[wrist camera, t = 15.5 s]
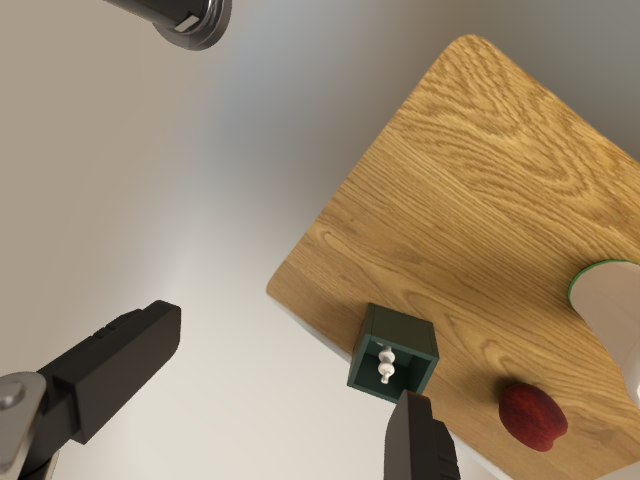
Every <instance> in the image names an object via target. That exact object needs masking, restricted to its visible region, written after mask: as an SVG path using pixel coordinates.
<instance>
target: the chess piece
mask: <svg viewBox="0 0 640 480" xmlns="http://www.w3.org/2000/svg"><path fill="white" fill-rule="evenodd" d="M376 343H378V342H376ZM378 344H379V345H381V346H383V351H381V352H380V353H379V359H380V361H381V363H380V365H379V367H378V370H379V372H380V373H381V374H382V375H384V376H383V377H382V379H381V382H383V383H386V384H387V383H388V377H389V376H391V375H392V374H393V373H394V367H393V365H392V362H393V361H394V359H395V356H394V354H393V353H392V352H391V348H392V347H389V346H386V345H383V344H380V343H378Z"/></svg>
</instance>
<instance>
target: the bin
mask: <svg viewBox="0 0 640 480" xmlns="http://www.w3.org/2000/svg"><path fill="white" fill-rule="evenodd" d="M376 342H378V343H380V344H383V345H386V346H389V347H392V348H391V352H392V353H393V354H394V356H395V359H394V361H393V362H392V365H393V367H394V373H393V374H392V375H391V376H389V377H388V383H387V384H386V383H383V382H381V379H382V377H383V376H384V375H382V374H381V373H380V372H379V370H378V367H379V365H380V363H381V361H380V359H379V353H380V352H381V351H383V346H381V345H379V344H378V343H376ZM439 359H440V358H439V353H438V348H437V343H436V338H435V332H434V327H433V323H431V322H428V321H425V320H422V319H418V318H415V317H412V316H409V315H406V314H403V313H400V312H397V311H394V310H391V309H388V308H385V307H382V306H379V305H376V304H373V303H369V306H368V309H367V312H366V315H365V318H364V321H363V323H362V326H361V329H360V332H359V335H358V338H357V341H356V344H355V347H354V349H353V354H352V360H351V365H350V370H349V376H348V381H347V386H349V387H352V388H355V389H357V390H360V391H362V392H365V393H368V394H371V395H373V396H376V397H379V398H381V399H385V400H387V401H390V402H392V403H395V404H397V402H398V400H399V398H400V396H401V394H402V392H403V390H404V389H406V390H409V391H412V392H414V393H417V394H420V395H422V393H423V391H424V389H425V387H426V385H427V383H428V381H429V379H430V377H431V375H432V373H433V371H434V369H435V367H436V365H437V363H438V361H439Z"/></svg>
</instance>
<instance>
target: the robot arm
mask: <svg viewBox="0 0 640 480" xmlns="http://www.w3.org/2000/svg"><path fill="white" fill-rule="evenodd" d="M104 1H106V2H108V3H111V4H113V5H115V6H117V7H119V8H122V9H124V10H126V11H128V12H130V13H133V14H135V15H137V16H139V17H142V18H144V19H146V20H148V21H151V22H152V23H154V24H157V25H159V26H161V27H163V28H165V29H167V30H168V31H170V32H172V33H175V34H177V35H181V36H190V35H193V34H196V33H198V32H199V31H200V30H202V29H203V28H204V26H205V25H206V24H207V22H208V20H209V19H210V16H211V14H212V10H213V6H214V0H104ZM180 329H181V308H180V307H179V306H176V305H173V304H170V303H168V302H165V301H162V300H157V301H155V302H153V303H152V304H150V305H149V306H148V307H146V308H145V309H143V310H141V309H136V310H134V311H131V312H129V313H126V314H123V315H120V316H119V317H118V318H116V319H115V320H113V321H112V322H110V323H109V324H107V325H106V327H105V328H104V327H103V328H101V329H100V330H98V331H97V332H95V333H94V334H93V336H89V337H88V338H86V339H85V340H83V341H82V342H80V343H79V344H77V345H76V346H74V347H73V348H71V349H70V350H68V351H67V352H65V353H64V354H62V355H61V356H59V357H58V358H56V359H55V360H53V361H52V362H50V363H49V364H47V365H46V366H44V367H43V368H41V369H40V370H38V371H36V372H17V373H12V374H8V375H5V376H2V377H0V480H51V478H52V475H53V472H54V469H55V466H56V463H57V460H58V456H59V449H60V448H61V447H62V446H63V445H64V444H65V443H66V442H67V441H68V440H69V439H72V440H74V441H76V442H79V443H81V444H83V445H85V444H86V443H87V442H88V441H89V440H90V439H91V438H92V437H93V436H94V435H95V434H96V433H97V432H98V431H99V430H100V429H101V428H102V427H103V426H104V424H106V422H108V421H109V420H110V419H111V417H113V416H114V415H115V414H116V412H118V411H119V409H120V408H121V407H122V406H123V405H124V404H125V403H126V402H127V401H128V400H129V399H130V398H131V397H132V396H133V395H134V394H135V393H136V392H137V391H138V390H139V389H140V388H141V387H142V386H143V385H144V384H145V383H146V382H147V381H148V380H149V379H150V378H151V377H152V376H153V375H154V374H155V373H156V372H157V371H158V370H159V369H160V368H161V367H162V366H163V365H164V364H165V363H166V362H167V361H168V360H169V359H170V358H171V357H172V356H173V354H174V353H175V352H176V350H177V348H178V345H179V342H180ZM460 479H461V478H460V473H459V467H458V466H457V457H456V451H455V446H454V441H453V440H452V438H451V436H450V434H449V432H448V430H447V428H446V426H445V424H444V423H443V422H441V421H438V420H435V419H433V416H432V409H431V402H430V399H429V398H428V397H426V396H423V395H420V394H417V393H414V392H412V391H409V390H406V389H404V390H403V392H402V394H401V396H400V398H399V400H398V402H397V405H396V407H395V409H394V411H393V413H392V415H391V418H390V420H389V423H388V426H387V430H386V436H385V453H384V480H460Z"/></svg>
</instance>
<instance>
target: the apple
mask: <svg viewBox="0 0 640 480" xmlns="http://www.w3.org/2000/svg"><path fill="white" fill-rule="evenodd" d="M499 416H500V419H501V421H502V423H503V425H504V427H505V428H506V429H507V430H508V432H509V433H510V434H511V435H512V436H513V437H515V438H516V439H517V440H519V441H520V442H521V443H523V444H525V445H526V446H528V447H530V448H532V449H534V450H537V451H540V452H546V451H549V450H550V449H551V448H552V446H553V441H554V440H555V439H556V438H558V437H560V436H562V435H564V434H565V433H566V431H567V428H568V423H567V420H566V417H565V415H564V414H563V412H562V410H561V409H560V407H559V406H558V405H557V404H556V403H555V401H554V400H553V399H552V398H551V397H550V396H549V395H547V394H546V393H545V392H544V391H542V390H541V389H539V388H537V387H535V386H533V385H530V384H526V383H517V384H513V385H511V386H510V387H509V388H508V387H507V389H506V390H505V391H504V392H503V394H502V395H501V397H500V400H499Z"/></svg>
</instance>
